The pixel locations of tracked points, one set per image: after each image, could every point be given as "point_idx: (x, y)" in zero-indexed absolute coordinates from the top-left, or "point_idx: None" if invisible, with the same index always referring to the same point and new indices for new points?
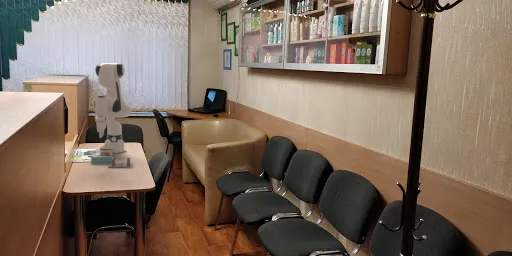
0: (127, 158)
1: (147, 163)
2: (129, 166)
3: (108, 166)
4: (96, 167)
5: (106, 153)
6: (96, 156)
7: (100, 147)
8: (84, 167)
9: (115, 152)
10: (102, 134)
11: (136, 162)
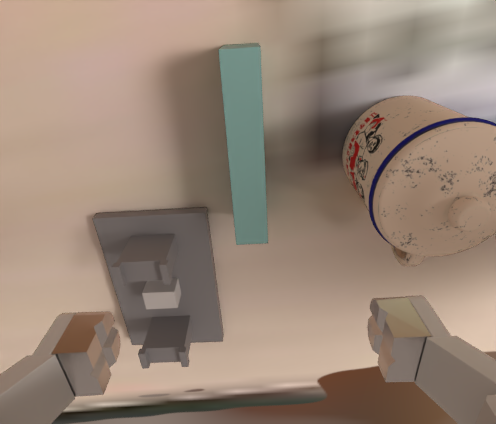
0: (179, 350)
1: (257, 389)
2: (129, 332)
3: (95, 218)
4: (89, 123)
5: (360, 188)
6: (254, 103)
7: (449, 136)
8: (59, 11)
9: (398, 256)
10: (382, 331)
11: (281, 344)
